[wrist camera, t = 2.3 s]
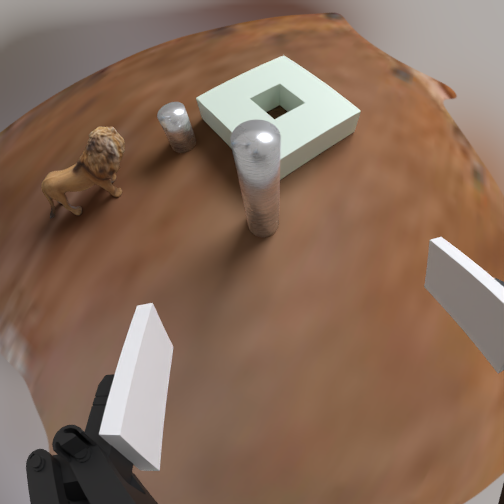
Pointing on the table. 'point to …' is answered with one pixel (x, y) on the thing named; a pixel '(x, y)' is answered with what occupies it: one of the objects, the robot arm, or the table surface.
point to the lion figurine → (88, 169)
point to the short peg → (177, 127)
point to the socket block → (292, 100)
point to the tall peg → (258, 173)
